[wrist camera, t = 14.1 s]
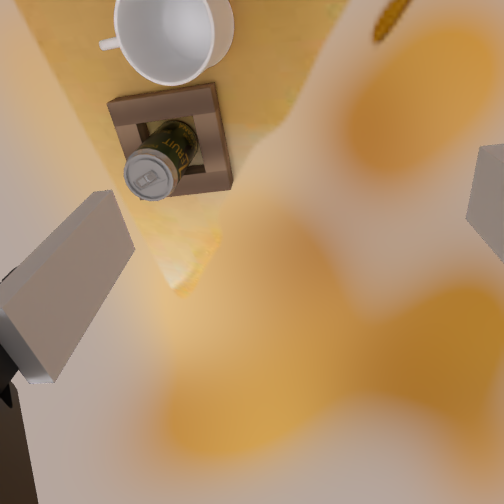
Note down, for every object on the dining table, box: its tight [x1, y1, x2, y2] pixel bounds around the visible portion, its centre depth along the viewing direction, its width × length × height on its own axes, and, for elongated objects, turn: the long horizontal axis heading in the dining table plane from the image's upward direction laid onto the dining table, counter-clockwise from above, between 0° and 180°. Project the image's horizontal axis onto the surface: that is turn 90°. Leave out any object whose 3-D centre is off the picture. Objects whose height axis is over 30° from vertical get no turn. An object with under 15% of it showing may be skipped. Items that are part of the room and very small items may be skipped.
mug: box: [99, 0, 234, 86], centre depth 34 cm, size 12×8×12 cm
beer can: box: [124, 121, 198, 201], centre depth 41 cm, size 5×5×12 cm
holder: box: [107, 82, 233, 200], centre depth 45 cm, size 12×12×3 cm
